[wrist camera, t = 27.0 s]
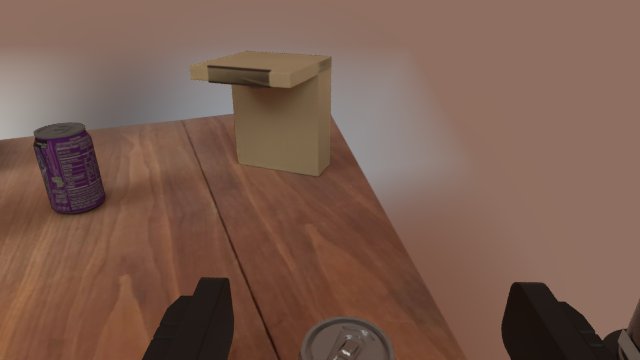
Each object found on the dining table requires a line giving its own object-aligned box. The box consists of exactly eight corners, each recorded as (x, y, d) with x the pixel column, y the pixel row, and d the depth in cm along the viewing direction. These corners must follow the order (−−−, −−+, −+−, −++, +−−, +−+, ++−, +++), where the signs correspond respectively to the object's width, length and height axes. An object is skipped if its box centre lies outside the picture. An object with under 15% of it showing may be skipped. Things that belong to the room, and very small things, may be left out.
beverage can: (67, 195, 66) (46, 121, 60) (113, 194, 66) (97, 121, 61) (43, 218, 59) (17, 137, 54) (94, 217, 59) (74, 136, 54)
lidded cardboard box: (293, 203, 63) (289, 72, 55) (204, 186, 69) (189, 64, 60) (336, 157, 81) (339, 51, 73) (263, 146, 86) (257, 47, 78)
